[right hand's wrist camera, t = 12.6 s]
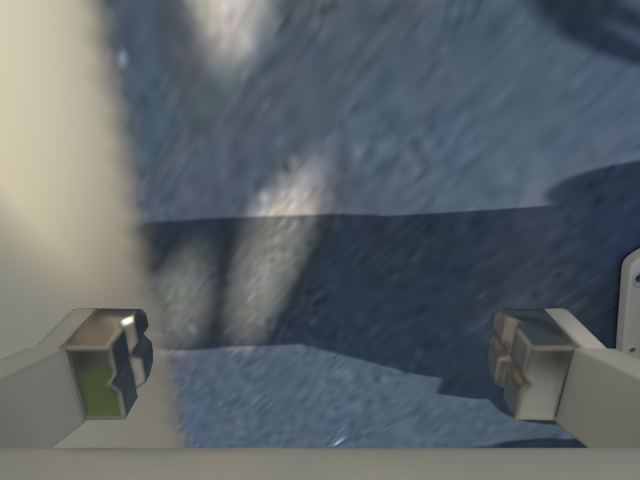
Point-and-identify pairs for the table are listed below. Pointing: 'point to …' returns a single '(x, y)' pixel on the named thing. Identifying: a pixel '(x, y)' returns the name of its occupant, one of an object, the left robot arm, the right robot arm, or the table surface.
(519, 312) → the right robot arm
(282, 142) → the table surface
